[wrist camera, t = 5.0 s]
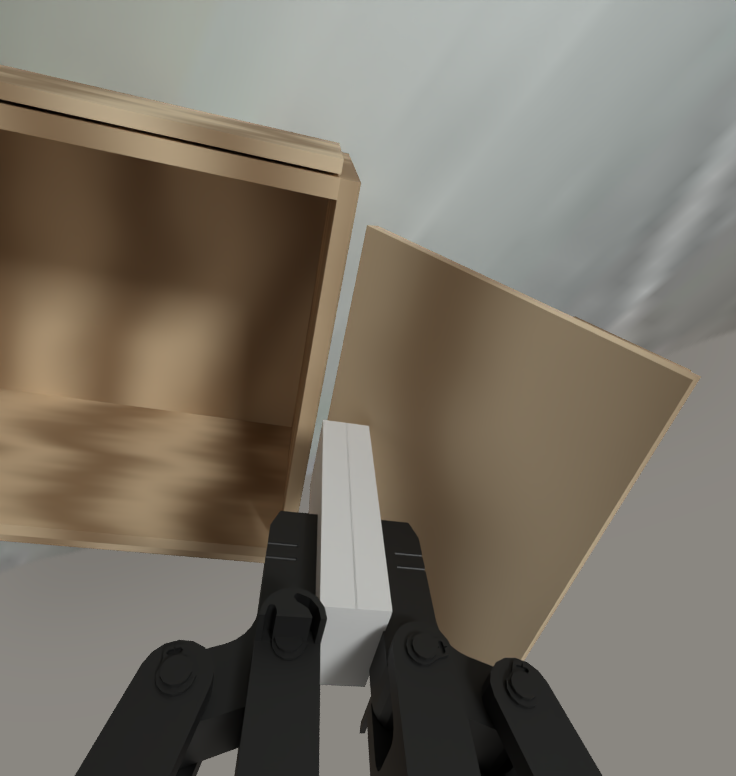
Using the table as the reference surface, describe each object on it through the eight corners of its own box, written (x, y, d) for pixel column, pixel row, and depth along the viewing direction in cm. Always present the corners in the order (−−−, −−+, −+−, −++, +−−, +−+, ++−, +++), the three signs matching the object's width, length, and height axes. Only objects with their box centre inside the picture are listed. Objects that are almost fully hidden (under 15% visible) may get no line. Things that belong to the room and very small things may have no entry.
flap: (454, 768, 15) (464, 757, 15) (693, 379, 8) (702, 376, 9) (299, 556, 21) (309, 552, 21) (367, 225, 14) (380, 225, 14)
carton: (-55, 392, 27) (-231, 524, 19) (-146, 26, 19) (-535, -39, 11) (299, 438, 31) (287, 568, 22) (350, 141, 22) (364, 164, 14)
